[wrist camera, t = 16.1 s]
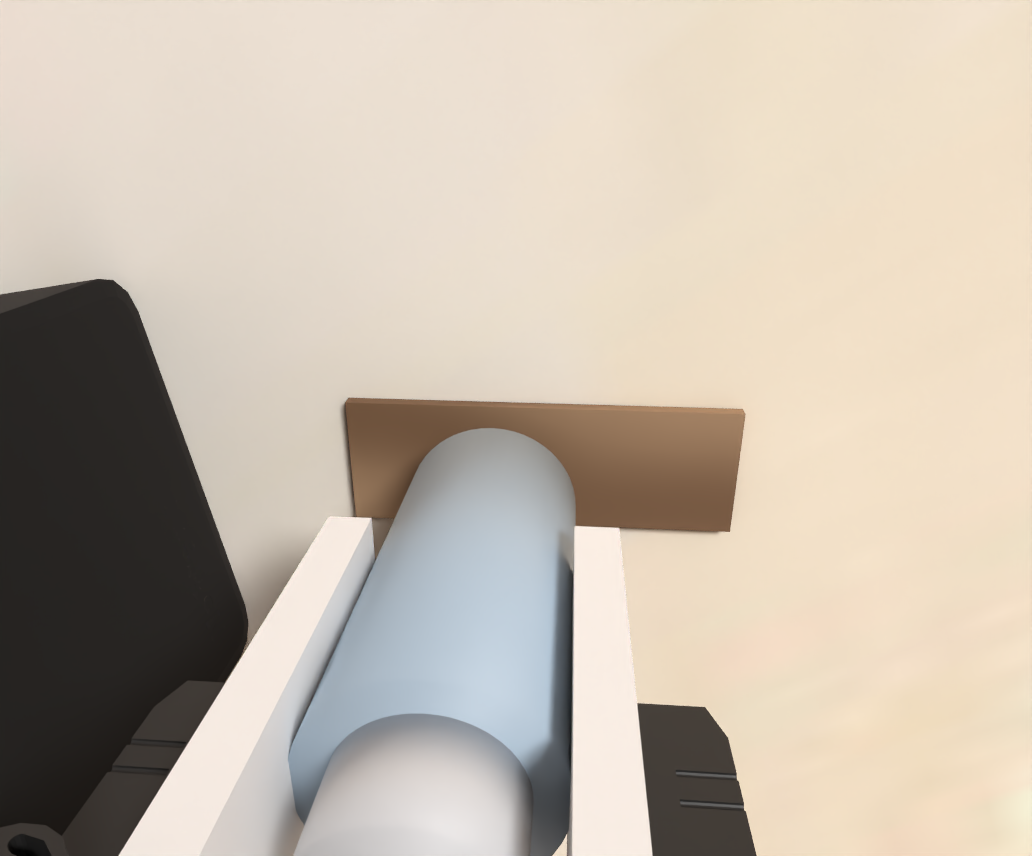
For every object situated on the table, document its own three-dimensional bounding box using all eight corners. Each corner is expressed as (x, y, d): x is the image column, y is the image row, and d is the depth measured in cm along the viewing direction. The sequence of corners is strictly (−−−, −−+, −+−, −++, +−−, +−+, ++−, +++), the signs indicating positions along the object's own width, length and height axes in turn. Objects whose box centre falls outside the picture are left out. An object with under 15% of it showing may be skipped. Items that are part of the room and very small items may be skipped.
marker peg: (405, 425, 16) (210, 776, 7) (578, 430, 15) (579, 801, 7) (415, 571, 17) (259, 1005, 9) (573, 577, 17) (569, 1032, 8)
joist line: (-116, 384, 18) (-126, 388, 18) (742, 409, 17) (745, 414, 16) (-77, 493, 19) (-86, 499, 19) (727, 524, 18) (729, 531, 18)
